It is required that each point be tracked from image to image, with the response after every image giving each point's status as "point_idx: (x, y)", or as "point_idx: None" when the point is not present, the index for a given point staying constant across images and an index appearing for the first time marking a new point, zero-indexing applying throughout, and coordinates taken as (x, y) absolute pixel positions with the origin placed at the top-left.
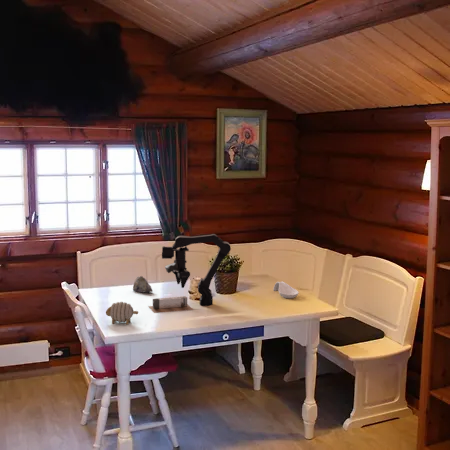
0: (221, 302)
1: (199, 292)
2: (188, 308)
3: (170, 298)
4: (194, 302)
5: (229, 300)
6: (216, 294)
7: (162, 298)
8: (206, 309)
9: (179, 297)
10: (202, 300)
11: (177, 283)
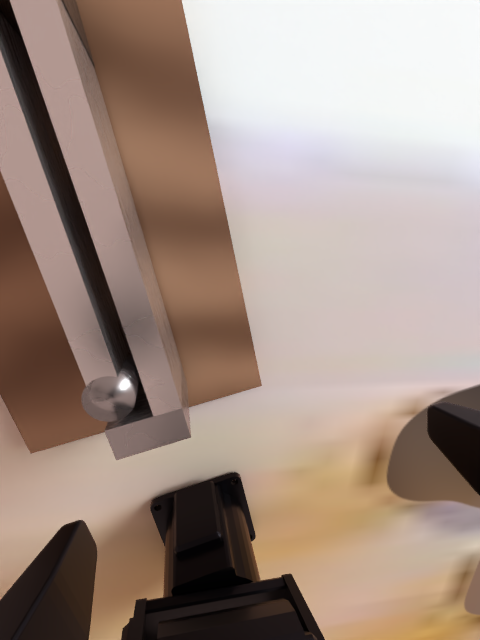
0: (298, 584)
1: (158, 635)
2: (73, 409)
3: (57, 229)
4: (329, 430)
5: (335, 614)
6: (476, 537)
7: (46, 74)
8: (121, 523)
9: (137, 363)
10: (172, 552)
11: (440, 411)
